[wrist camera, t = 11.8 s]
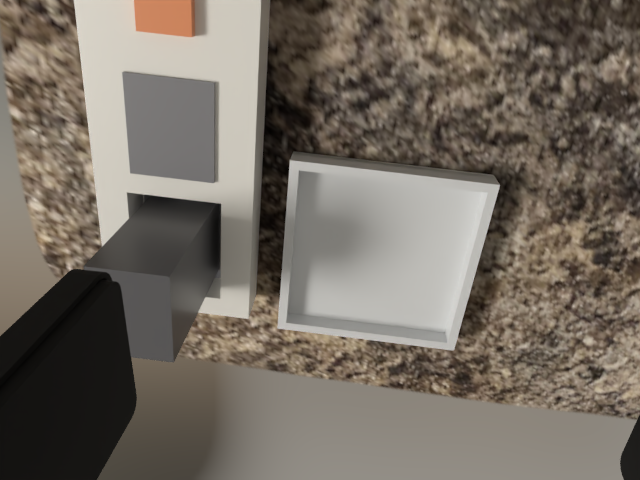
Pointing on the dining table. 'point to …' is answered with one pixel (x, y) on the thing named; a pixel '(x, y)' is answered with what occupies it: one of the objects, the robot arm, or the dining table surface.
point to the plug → (162, 271)
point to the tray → (381, 248)
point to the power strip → (180, 119)
